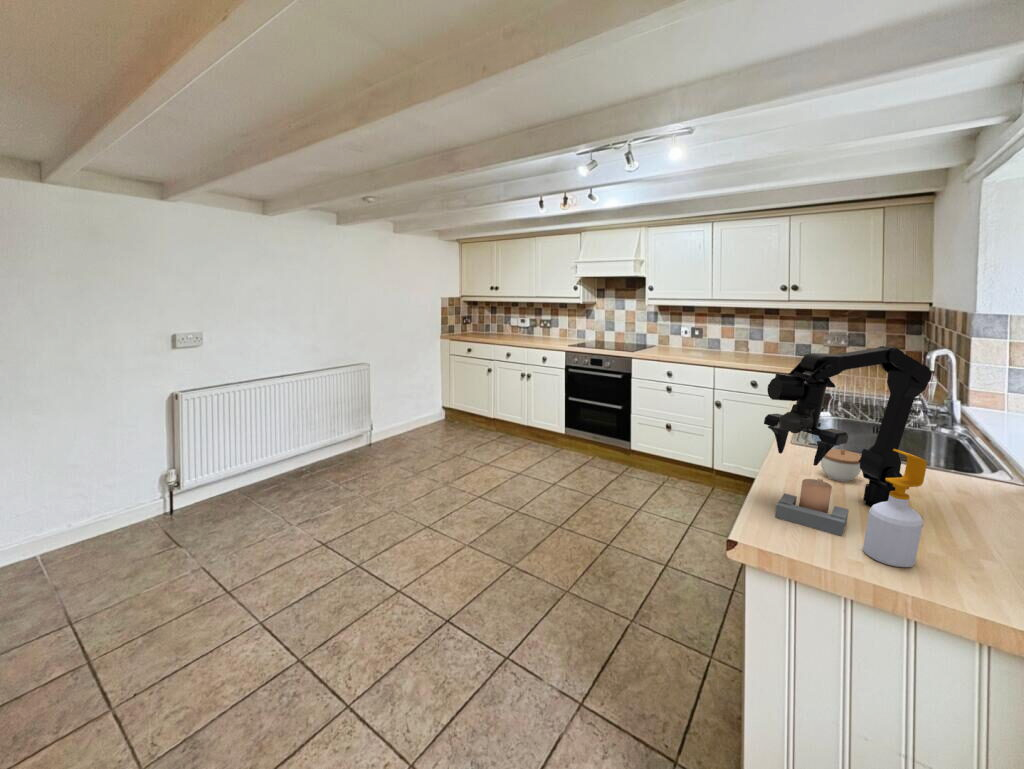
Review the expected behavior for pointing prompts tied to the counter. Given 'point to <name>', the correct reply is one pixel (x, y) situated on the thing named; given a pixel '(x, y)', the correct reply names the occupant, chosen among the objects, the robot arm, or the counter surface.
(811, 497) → the tan handled cup
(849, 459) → the lidded jar
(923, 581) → the counter surface
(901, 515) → the soap bottle
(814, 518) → the cradle
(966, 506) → the counter surface
